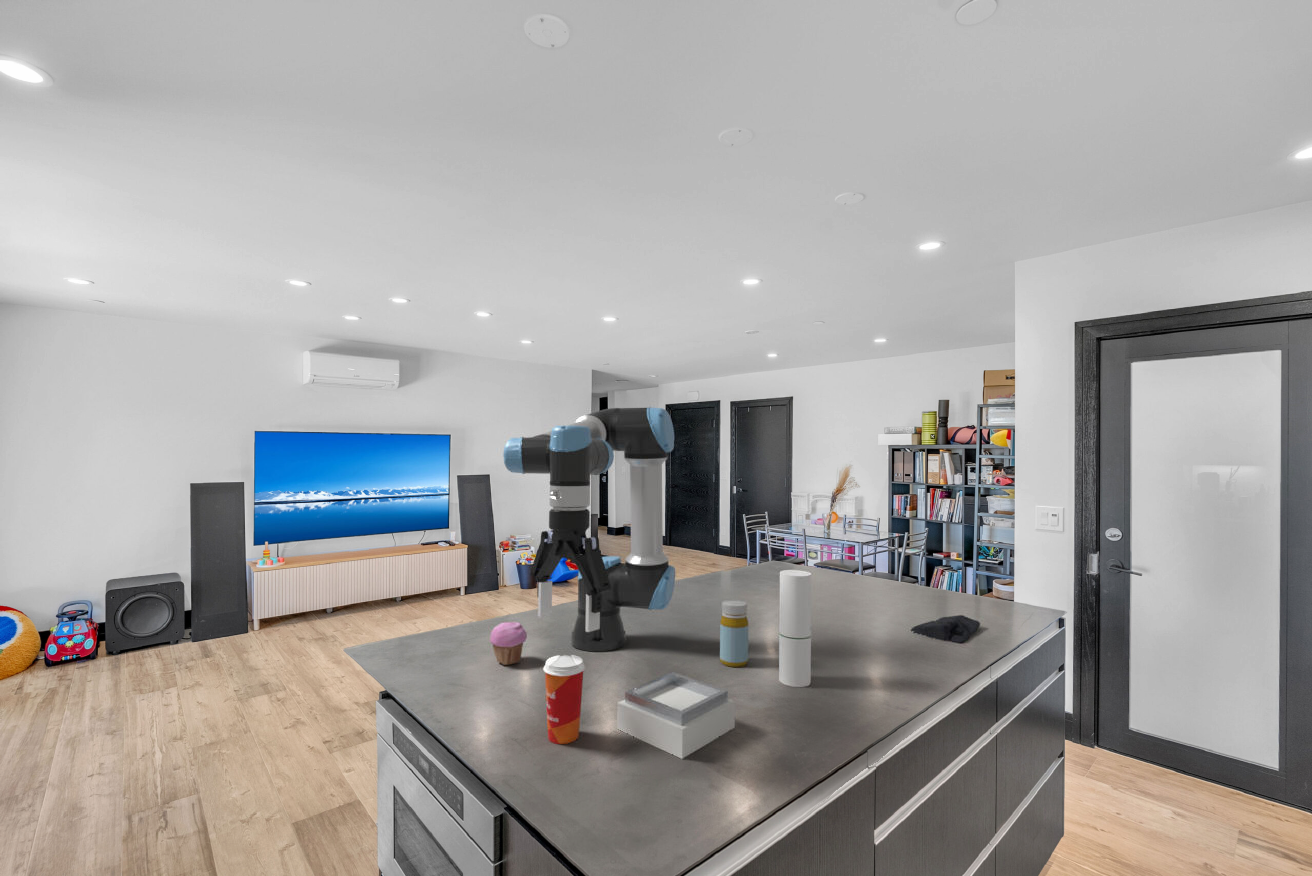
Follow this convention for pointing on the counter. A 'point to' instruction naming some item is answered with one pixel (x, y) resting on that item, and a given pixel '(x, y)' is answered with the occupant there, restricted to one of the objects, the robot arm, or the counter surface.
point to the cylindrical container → (795, 628)
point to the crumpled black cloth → (948, 628)
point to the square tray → (676, 713)
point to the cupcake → (508, 642)
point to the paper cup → (563, 697)
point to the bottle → (734, 633)
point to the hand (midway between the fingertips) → (567, 622)
